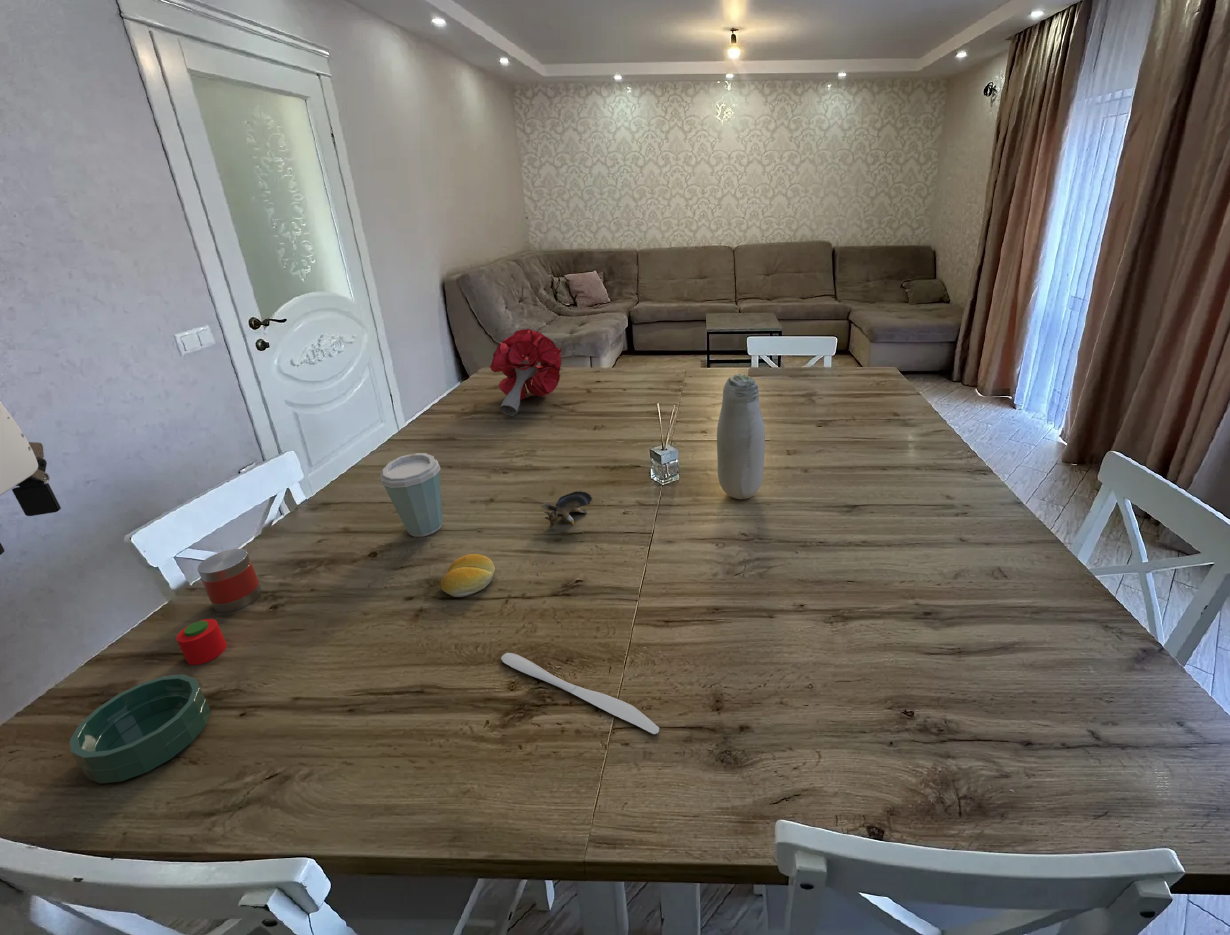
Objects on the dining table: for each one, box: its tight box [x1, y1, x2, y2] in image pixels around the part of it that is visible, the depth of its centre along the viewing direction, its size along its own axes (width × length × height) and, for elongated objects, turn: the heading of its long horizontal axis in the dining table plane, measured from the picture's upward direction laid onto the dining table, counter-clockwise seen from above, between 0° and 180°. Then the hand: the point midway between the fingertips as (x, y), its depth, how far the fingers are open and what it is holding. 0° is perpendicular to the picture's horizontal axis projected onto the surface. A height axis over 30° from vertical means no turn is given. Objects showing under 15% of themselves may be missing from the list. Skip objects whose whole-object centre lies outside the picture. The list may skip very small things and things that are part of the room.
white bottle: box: [716, 373, 766, 500], centre depth 119 cm, size 10×10×28 cm
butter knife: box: [500, 652, 660, 735], centre depth 76 cm, size 1×27×3 cm
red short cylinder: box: [175, 618, 228, 666], centre depth 82 cm, size 5×5×5 cm
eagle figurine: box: [540, 490, 593, 528], centre depth 114 cm, size 8×7×9 cm
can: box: [197, 548, 263, 613], centre depth 93 cm, size 6×6×8 cm
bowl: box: [69, 673, 212, 785], centre depth 69 cm, size 11×11×5 cm
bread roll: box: [440, 553, 496, 598], centre depth 97 cm, size 8×9×4 cm
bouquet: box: [489, 328, 563, 416], centre depth 176 cm, size 22×24×30 cm
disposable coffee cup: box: [380, 452, 444, 538], centre depth 110 cm, size 11×11×15 cm
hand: (16, 533), depth 67 cm, fingers open, 9 cm apart
